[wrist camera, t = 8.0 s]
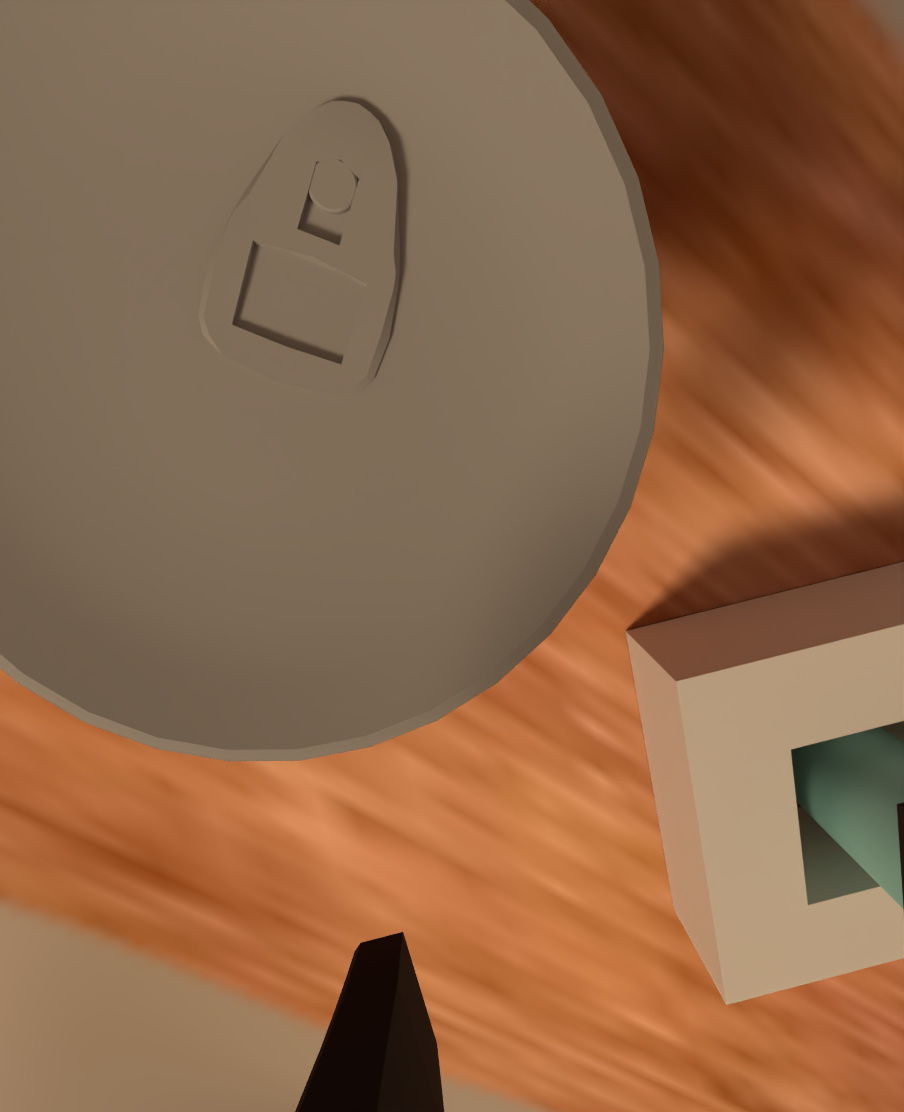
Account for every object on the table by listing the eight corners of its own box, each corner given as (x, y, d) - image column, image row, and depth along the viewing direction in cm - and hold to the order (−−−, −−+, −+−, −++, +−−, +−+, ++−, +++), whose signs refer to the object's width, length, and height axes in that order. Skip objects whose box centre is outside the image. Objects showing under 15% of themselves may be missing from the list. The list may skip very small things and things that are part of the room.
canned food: (513, 249, 16) (736, -88, 5) (487, 560, 18) (618, 782, 7) (198, 220, 15) (-274, -236, 5) (202, 546, 17) (-140, 765, 6)
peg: (849, 678, 20) (1142, 857, 12) (858, 768, 20) (1137, 991, 13) (749, 705, 20) (977, 902, 12) (761, 794, 20) (984, 1034, 13)
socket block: (951, 549, 19) (1072, 581, 16) (961, 833, 21) (1068, 913, 18) (625, 631, 19) (675, 681, 15) (673, 908, 21) (726, 1004, 18)
